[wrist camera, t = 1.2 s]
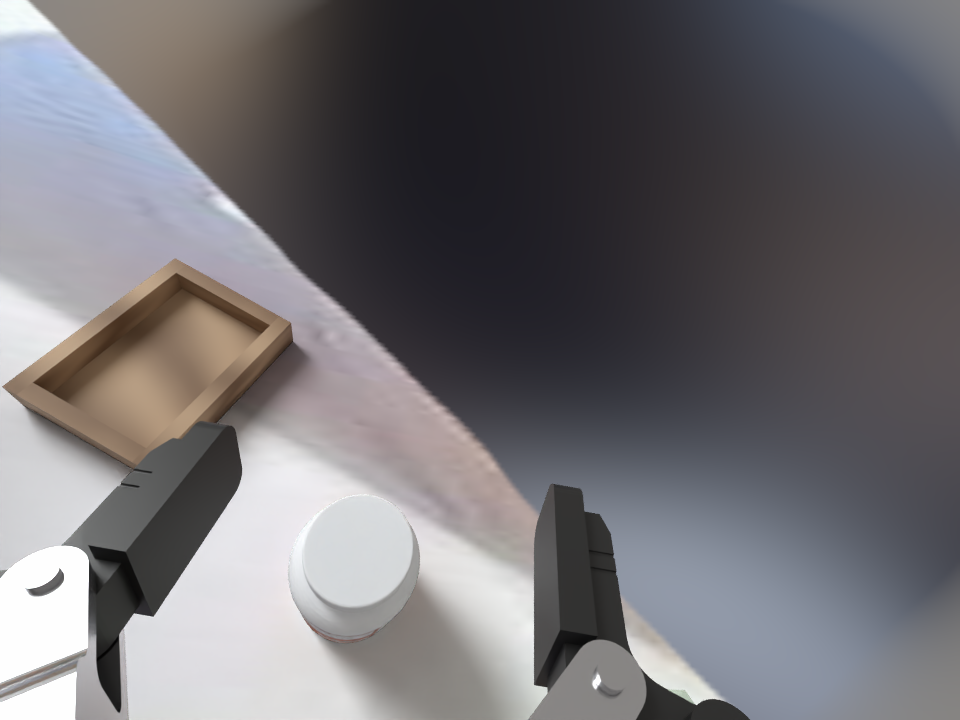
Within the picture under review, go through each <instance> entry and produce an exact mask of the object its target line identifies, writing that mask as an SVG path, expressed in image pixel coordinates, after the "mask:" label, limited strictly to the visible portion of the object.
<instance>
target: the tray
mask: <svg viewBox="0 0 960 720" xmlns="http://www.w3.org/2000/svg"><path fill="white" fill-rule="evenodd" d="M292 342H293V336H292V327H291V323H290V322H289V321H287V320H285V319H283V318H281V317H280V316H278V315H276V314H274V313H272V312H271V311H269V310H267V309H265V308H263V307H262V306H260V305H258V304H256V303H254V302H253V301H251V300H249V299H247V298H245V297H244V296H242V295H240V294H238V293H236V292H235V291H233V290H231V289H229V288H228V287H226V286H224V285H222V284H220V283H219V282H217V281H215V280H213V279H211V278H210V277H208V276H206V275H204V274H202V273H201V272H199V271H197V270H195V269H193V268H192V267H190V266H188V265H186V264H184V263H183V262H181V261H179V260H177V259H174V260H172V261H171V262H170V263H168V264H167V265H166V266H164V267H163V268H161V269H160V270H159V271H157V272H156V273H155V274H153V275H152V276H151V277H149V278H148V279H147V280H145V281H144V282H143V283H141V284H140V285H139V286H137V287H136V288H135V289H133V290H132V291H130V292H129V293H128V294H126V295H125V296H124V297H122V298H121V299H120V300H118V301H117V302H116V303H114V304H113V305H112V306H110V307H109V308H108V309H106V310H105V311H103V312H102V313H101V314H99V315H98V316H97V317H95V318H94V319H93V320H91V321H90V322H89V323H87V324H86V325H85V326H83V327H82V328H81V329H79V330H78V331H77V332H75V333H74V334H72V335H71V336H70V337H68V338H67V339H66V340H64V341H63V342H62V343H60V344H59V345H58V346H56V347H55V348H54V349H52V350H51V351H50V352H48V353H47V354H45V355H44V356H43V357H41V358H40V359H39V360H37V361H36V362H35V363H33V364H32V365H31V366H29V367H28V368H27V369H25V370H24V371H23V372H21V373H20V374H19V375H17V376H16V377H14V378H13V379H12V380H10V381H9V382H8V383H6V384H5V385H4V386H2V387H3V388H4V389H5V390H7V391H8V392H9V393H10V394H11V395H12V396H13V397H14V398H16V399H17V400H18V401H19V402H20V403H21V404H22V405H24V406H25V407H27V408H29V409H31V410H32V411H34V412H36V413H38V414H39V415H41V416H43V417H44V418H46V419H48V420H50V421H51V422H53V423H55V424H56V425H58V426H60V427H62V428H63V429H65V430H67V431H68V432H70V433H72V434H74V435H75V436H77V437H79V438H80V439H82V440H84V441H86V442H87V443H89V444H91V445H93V446H94V447H96V448H98V449H99V450H101V451H103V452H105V453H106V454H108V455H110V456H111V457H113V458H115V459H117V460H118V461H120V462H122V463H123V464H125V465H127V466H129V467H130V468H132V469H134V468H135V467H136V466H137V465H138V464H139V463H140V462H141V461H142V460H143V459H144V458H145V456H146V455H147V454H148V453H149V452H150V451H152V450H153V449H155V448H157V447H158V446H160V445H162V444H163V443H165V442H167V441H168V440H170V439H172V438H176V439H182V438H183V437H184V436H185V435H186V434H187V432H188V431H189V430H190V429H191V428H192V427H193V426H194V425H195V424H196V423H197V422H199V421H206V422H211V423H216V422H217V421H218V420H219V419H220V418H221V417H222V416H223V415H224V414H225V413H226V412H227V411H228V410H229V409H230V408H231V406H232V405H233V404H234V403H235V402H236V401H237V400H238V399H239V398H240V397H241V396H242V395H243V394H244V393H245V392H246V391H247V389H248V388H249V387H250V386H251V385H252V384H253V383H254V382H255V381H256V380H257V379H258V378H259V377H260V376H261V375H262V374H263V373H264V371H265V370H266V369H267V368H268V367H269V366H270V365H271V364H272V363H273V362H274V361H275V360H276V359H277V358H278V357H279V356H280V354H281V353H282V352H283V351H284V350H285V349H286V348H287V347H288V346H289V345H290V344H291V343H292Z"/></svg>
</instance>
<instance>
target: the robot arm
mask: <svg viewBox="0 0 960 720" xmlns="http://www.w3.org/2000/svg"><path fill="white" fill-rule="evenodd" d="M241 476H242V465H241V459H240V454H239V448H238V442H237V437H236V432H235V429H234V427H232V426H228V425H223V424H217V423H211V422H206V421H199V422H197V423H196V424H195V425H194V426H193V427H192V428H191V429H190V430H189V431H188V432H187V434H186V435H185V436H184V437H183V438H182V439H176V438H172V439H170V440H168V441H167V442H165V443H163V444H162V445H160V446H158V447H157V448H155V449H153V450H152V451H150V452H149V453H148V454H147V455H146V456H145V458H144V459H143V460H142V461H141V462H140V463H139V464H138V465H137V466H136V467H135V468H134V471H133V472H130V474H129V475H128V476H127V477H126V478H125V479H124V480H123V481H122V482H121V485H120V486H117V487H116V489H115V490H114V491H113V492H112V493H111V494H110V495H109V496H108V497H107V498H106V499H105V500H104V501H103V502H102V503H101V505H100V506H99V507H98V508H97V509H96V510H95V511H94V512H93V513H92V514H91V515H90V516H89V517H88V518H87V520H86V521H85V522H84V523H83V524H82V525H81V526H80V527H79V528H78V529H77V530H76V531H75V532H74V533H73V534H72V536H71V537H70V538H69V539H68V540H67V541H66V542H65V543H64V544H62V545H61V546H59V547H53V548H49V549H45V550H42V551H39V552H36V553H34V554H32V555H30V556H28V557H26V558H25V559H23V560H21V561H20V562H18V563H17V564H15V565H14V566H13V567H12V568H11V569H8V570H2V571H0V720H129V717H128V698H127V675H126V652H125V633H124V629H123V628H124V627H125V625H126V624H127V622H128V621H129V619H130V618H131V617H132V615H133V614H134V613H135V614H141V615H147V616H152V617H154V615H155V614H156V612H157V611H158V609H159V608H160V606H161V605H162V603H163V601H164V600H165V598H166V597H167V595H168V594H169V592H170V591H171V589H172V588H173V586H174V585H175V583H176V582H177V580H178V579H179V577H180V576H181V574H182V573H183V571H184V570H185V568H186V567H187V565H188V564H189V562H190V561H191V559H192V558H193V556H194V555H195V553H196V552H197V550H198V549H199V547H200V546H201V544H202V542H203V541H204V539H205V538H206V536H207V535H208V533H209V532H210V530H211V529H212V527H213V526H214V524H215V523H216V521H217V520H218V518H219V517H220V515H221V514H222V512H223V511H224V509H225V508H226V506H227V505H228V503H229V502H230V500H231V499H232V497H233V496H234V494H235V492H236V491H237V489H238V486H239V484H240V480H241ZM613 555H614V553H613V546H612V540H611V534H610V532H609V530H608V528H607V527H606V525H605V523H604V521H603V520H602V518H601V516H600V514H595V513H589V512H584V503H583V495H582V491H581V489H579V488H573V487H568V486H562V485H556V484H551V485H550V487H549V489H548V492H547V495H546V498H545V501H544V504H543V507H542V510H541V513H540V516H539V519H538V522H537V526H536V532H535V540H534V685H537V686H543V687H548V694H547V695H546V696H545V698H544V699H543V700H542V702H541V703H540V705H539V706H538V707H537V709H536V710H535V711H534V713H533V714H532V715H531V717H530V718H529V720H750V719H749V718H748V717H747V716H746V715H745V714H744V713H742V712H741V711H740V710H739V709H737V708H736V707H734V706H733V705H731V704H729V703H727V702H724V701H721V700H716V699H708V700H705V701H702V702H701V703H699V704H698V705H695V704H693V703H691V702H689V701H688V700H686V699H684V698H682V697H680V696H678V695H677V694H675V693H673V692H671V691H669V690H667V689H665V688H664V687H662V686H660V685H659V684H657V683H656V682H654V681H653V680H652V679H651V678H649V677H648V676H647V675H646V674H645V673H644V671H643V670H642V669H641V668H640V667H639V665H638V663H637V662H636V660H635V659H634V657H633V655H632V653H631V651H630V648H629V645H628V641H627V636H626V630H625V623H624V617H623V611H622V604H621V598H620V591H619V585H618V578H617V576H616V566H615V559H614V558H613Z"/></svg>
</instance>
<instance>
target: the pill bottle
mask: <svg viewBox="0 0 960 720" xmlns="http://www.w3.org/2000/svg"><path fill="white" fill-rule="evenodd" d="M419 566H420V552H419V546H418V542H417V538H416V536H415V533H414V531H413V529H412V527H411V526H410V524H409V522H408V521H407V519H406V517H405V516H404V515H403V513H402V512H401V511H400V510H399V509H398V508H397V507H396V506H395V505H394V504H392V503H391V502H389V501H387V500H385V499H383V498H381V497H378V496H374V495H367V494H358V495H351V496H347V497H344V498H341V499H339V500H337V501H335V502H333V503H332V504H330V505H329V506H327V507H326V508H324V509H322V510H321V511H320V512H318V513H317V514H316V515H315V516H314V517H313V518H312V519H311V520H310V521H309V522H308V523H307V524H306V525H305V527H304V528H303V530H302V531H301V532H300V534H299V535H298V537H297V539H296V541H295V543H294V546H293V548H292V551H291V555H290V560H289V567H288V579H289V586H290V590H291V594H292V597H293V600H294V602H295V604H296V606H297V608H298V609H299V611H300V613H301V614H302V616H303V618H304V620H305V621H306V623H307V624H308V625H309V627H310V628H311V629H312V630H313V631H315V632H316V633H317V634H318V635H320V636H322V637H323V638H325V639H328V640H331V641H334V642H339V643H352V642H357V641H361V640H364V639H366V638H368V637H370V636H372V635H374V634H375V633H377V632H378V631H379V630H380V629H382V628H383V627H384V626H385V625H386V624H387V623H388V622H389V621H390V620H392V619H393V618H394V617H395V616H396V615H397V614H398V613H399V612H400V611H401V610H402V608H403V607H404V606H405V604H406V603H407V601H408V599H409V597H410V595H411V594H412V591H413V589H414V587H415V584H416V581H417V578H418V573H419Z"/></svg>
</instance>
